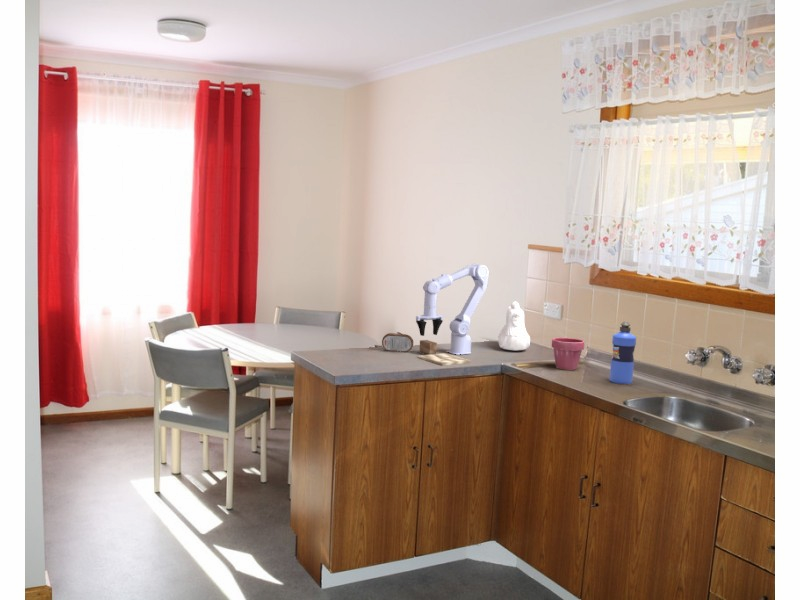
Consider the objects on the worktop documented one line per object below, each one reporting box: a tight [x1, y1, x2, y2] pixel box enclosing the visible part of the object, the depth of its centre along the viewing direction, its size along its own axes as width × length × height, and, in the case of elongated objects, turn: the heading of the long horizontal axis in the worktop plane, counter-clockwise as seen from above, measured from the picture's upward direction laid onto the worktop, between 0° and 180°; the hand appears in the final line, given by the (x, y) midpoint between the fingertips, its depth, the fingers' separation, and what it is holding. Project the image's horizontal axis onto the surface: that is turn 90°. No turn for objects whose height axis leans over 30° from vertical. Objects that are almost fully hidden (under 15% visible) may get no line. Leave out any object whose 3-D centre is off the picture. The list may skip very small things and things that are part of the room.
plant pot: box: [551, 337, 585, 371], centre depth 319 cm, size 14×14×13 cm
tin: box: [381, 332, 414, 353], centre depth 341 cm, size 15×3×8 cm, turn 84°
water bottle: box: [609, 321, 637, 385], centre depth 295 cm, size 9×9×25 cm
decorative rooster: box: [497, 300, 531, 352], centre depth 360 cm, size 25×16×25 cm, turn 167°
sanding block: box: [419, 339, 438, 355], centre depth 338 cm, size 4×8×6 cm, turn 35°
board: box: [417, 352, 471, 366], centre depth 324 cm, size 16×18×1 cm
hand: (428, 335), depth 337 cm, fingers open, 7 cm apart
